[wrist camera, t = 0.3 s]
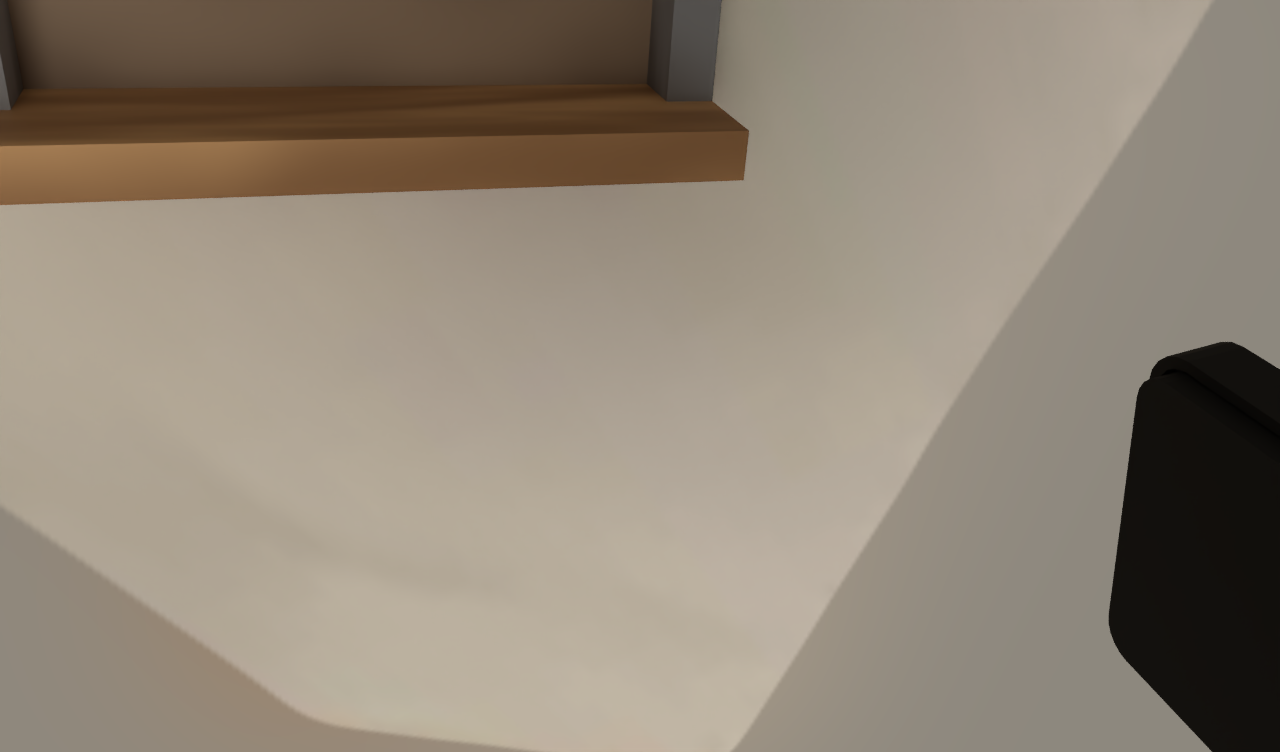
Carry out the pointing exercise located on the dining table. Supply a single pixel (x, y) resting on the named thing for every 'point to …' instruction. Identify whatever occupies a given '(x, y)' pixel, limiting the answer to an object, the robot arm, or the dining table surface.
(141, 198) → the tray
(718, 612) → the dining table surface
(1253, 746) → the robot arm
